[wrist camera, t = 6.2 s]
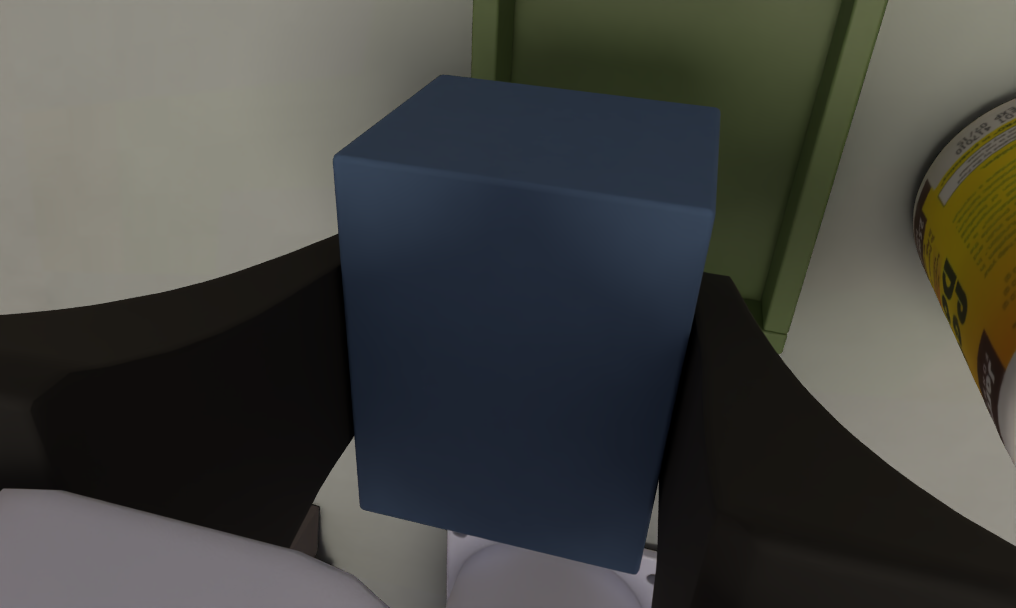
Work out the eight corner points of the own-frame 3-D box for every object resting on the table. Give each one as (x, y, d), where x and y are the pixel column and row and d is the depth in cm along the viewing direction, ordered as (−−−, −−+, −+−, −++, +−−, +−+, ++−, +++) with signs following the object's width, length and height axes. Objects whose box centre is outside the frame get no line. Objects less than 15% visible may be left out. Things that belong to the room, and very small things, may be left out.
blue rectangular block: (660, 412, 14) (638, 578, 11) (439, 368, 15) (358, 510, 12) (721, 106, 11) (716, 212, 8) (439, 72, 12) (330, 154, 9)
